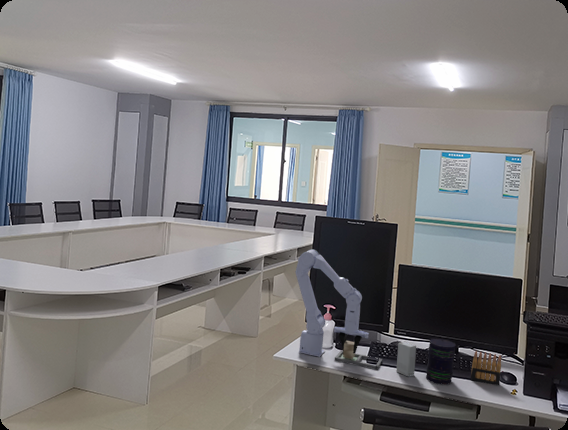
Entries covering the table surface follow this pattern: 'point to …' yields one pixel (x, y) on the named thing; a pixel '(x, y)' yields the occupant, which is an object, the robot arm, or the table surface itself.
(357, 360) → the slot holder
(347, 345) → the birch plug
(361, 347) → the table surface
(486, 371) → the ammunition clip
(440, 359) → the storage jar
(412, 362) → the skincare box
